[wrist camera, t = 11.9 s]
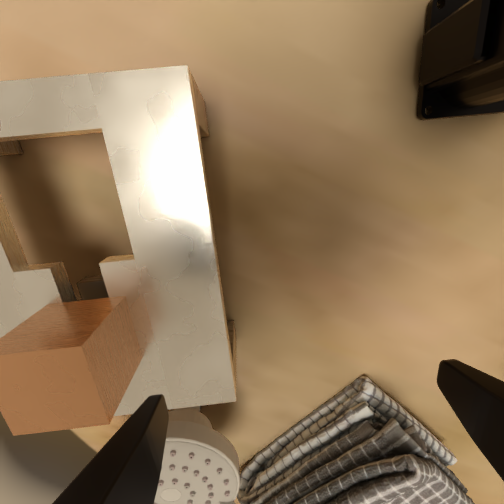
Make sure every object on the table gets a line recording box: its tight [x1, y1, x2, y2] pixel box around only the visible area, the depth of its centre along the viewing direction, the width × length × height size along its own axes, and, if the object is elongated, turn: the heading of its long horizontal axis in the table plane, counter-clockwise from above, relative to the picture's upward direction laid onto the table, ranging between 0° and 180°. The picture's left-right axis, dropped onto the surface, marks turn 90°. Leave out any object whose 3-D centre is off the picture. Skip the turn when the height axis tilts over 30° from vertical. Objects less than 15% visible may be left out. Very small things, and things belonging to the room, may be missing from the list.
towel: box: [237, 376, 474, 504], centre depth 24 cm, size 15×18×8 cm
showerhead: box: [154, 406, 240, 504], centre depth 20 cm, size 9×7×10 cm
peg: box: [0, 275, 142, 436], centre depth 14 cm, size 4×4×8 cm
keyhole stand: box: [0, 65, 236, 416], centre depth 16 cm, size 14×18×6 cm
